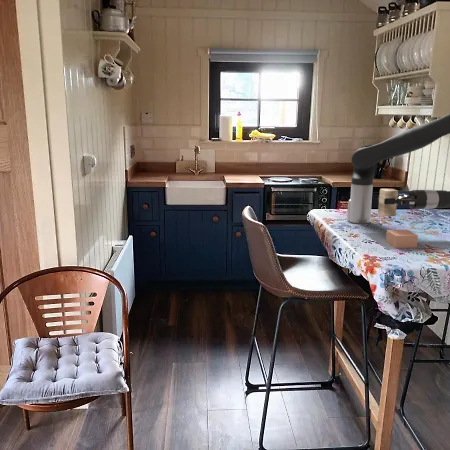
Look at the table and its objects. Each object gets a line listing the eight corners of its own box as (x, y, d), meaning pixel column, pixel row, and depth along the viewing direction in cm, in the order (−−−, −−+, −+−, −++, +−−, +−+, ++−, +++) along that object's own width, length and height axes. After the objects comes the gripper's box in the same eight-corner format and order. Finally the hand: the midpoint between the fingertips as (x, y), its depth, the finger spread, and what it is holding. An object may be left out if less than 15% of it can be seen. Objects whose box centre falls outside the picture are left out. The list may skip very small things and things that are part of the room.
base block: (395, 247, 165) (396, 235, 164) (385, 241, 173) (386, 230, 172) (416, 247, 166) (417, 235, 165) (406, 241, 174) (407, 229, 173)
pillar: (383, 216, 178) (385, 191, 175) (377, 213, 182) (380, 188, 180) (395, 216, 178) (398, 190, 176) (389, 213, 183) (392, 188, 180)
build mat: (387, 251, 164) (387, 249, 164) (363, 234, 186) (363, 232, 186) (427, 249, 165) (428, 248, 165) (398, 233, 187) (398, 231, 187)
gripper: (415, 186, 186) (374, 187, 184) (434, 193, 172) (390, 193, 171) (413, 205, 188) (373, 205, 186) (431, 212, 174) (388, 213, 173)
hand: (381, 199), depth 178 cm, fingers closed on pillar, 5 cm apart
